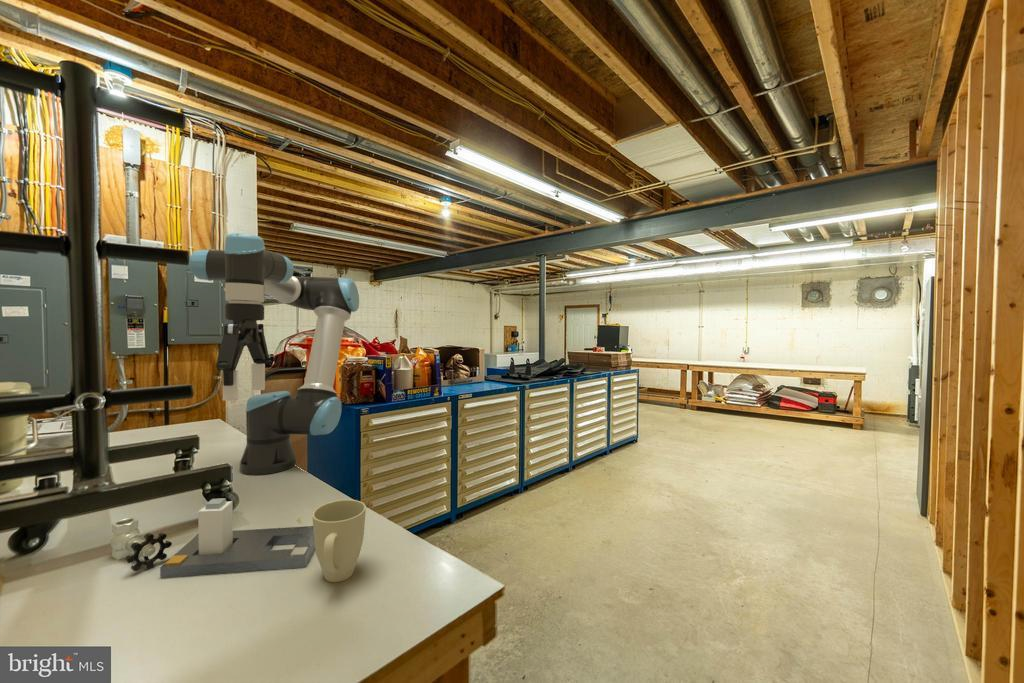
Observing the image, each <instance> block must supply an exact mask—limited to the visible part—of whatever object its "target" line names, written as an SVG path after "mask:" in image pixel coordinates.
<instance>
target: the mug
mask: <svg viewBox="0 0 1024 683" xmlns="http://www.w3.org/2000/svg"><path fill="white" fill-rule="evenodd" d="M366 511H367V507H366V503H364V502H362V501H360V500H357V499H339V500H333V501H331V502H326V503H324V504H322V505H320V506H318V507H317V508H316V509H315V510H314V511H313V512H312V526H313V530H314V543H315V550H314V551H315V554H316V557H317V560H318V563H319V565H320V568H321V571H322V573H323V576H324V578H325V579H324V580H326V581H327V582H329V583H339V582H343V581H345V580H347V579H349V578H351V576H353V574H354V572H355V568H356V565H357V562H358V559H359V557H360V553H361V551H362V546H363V542H364V535H365V523H366V522H365V521H366Z"/></svg>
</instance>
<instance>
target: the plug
mask: <svg viewBox="0 0 1024 683" xmlns="http://www.w3.org/2000/svg"><path fill="white" fill-rule="evenodd" d="M233 503H234V502H233V501H232V500H231V501H229V500H228V501H227V498H225V497H224V498H220V497H219V498H211V499H210V500H209V501H207V502H206V503H205V504H204V505H205V506H204V507H202V508H201V509H199V510H198V514H197V515H198V516H197V517H198V521H197V522H198V523H197V524H198V534H199V555H209V554H224V553H225V552H226V551H227V550H228V549H229V548H230V547H231V546H232V545H233V531H234V528H233V527H234V526H233V521H234V520H233V517H234V516H233V514H234V513H233V511H234V508H233V506H234V505H233Z"/></svg>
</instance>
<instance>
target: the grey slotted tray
mask: <svg viewBox="0 0 1024 683" xmlns="http://www.w3.org/2000/svg"><path fill="white" fill-rule="evenodd" d="M281 545H282V546H283V545H294V546H293V548H287V549H285V548H284V549H272V548H273V546H281ZM271 549H272V550H271ZM315 551H316V550H315V543H314V530H313V525H309V526H307V525H306V526H292V527H290V526H289V527H275V528H258V529H257V528H256V529H255V528H253V529H241V530H233V545H232V546H231V547H230V548H229V549H228V550H227V551H226V552H225V553H224V554H209V555H199V533H198V534H196V535H194V537H193V538H192V539H191V540H190V541H188V542H187V543H186V544H185V545H184V546H182V547H181V549H179V550H178V551H177V552H176V553H175V554H174V555H172V556H171V557H170V558H168V560H167V561H165V562H164V563H163V564H162V565H161V566H160V567H159V570H160V571H159V572H160V573H159V575H160V576H159V577H160V579H166V578H168V579H169V578H181V577H194V576H209V575H220V574H223V575H224V574H232V573H235V574H237V573H246V572H247V573H249V572H261V571H273V570H286V569H287V570H288V569H299V568H300V569H301V568H306V567H307V565H308V563H309V561H310V560H311V558H312V556H313V554H314V553H315Z"/></svg>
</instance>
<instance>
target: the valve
mask: <svg viewBox="0 0 1024 683" xmlns="http://www.w3.org/2000/svg"><path fill="white" fill-rule="evenodd" d="M111 533H112V535H111V537H110V546H111V548H112V549H111V554H112V556H111V558H113V559H115V560H122V559H124V561H125V563H128V564H131V563H133V562H134V563H135V564H133V565H132V564H131V566H130V569H131V570H132V571H133V572H137V571H139V570H140V569H141V568H142V566H144V569H146V570H148V571H149V570H152V569H154V567H155V562H156V561H157V560H160V561H164V560H165V559H166V558H167V557H168V555H167V553H165V552H164V550H165V549H168V548H170V547H172V544H173V543H172V541H170V540H165V539H166V538H167V533H164V532H160V533H158V535H157V537H155V535H154V534H153V533H151V532H148V533H146V534H145V535H144V536H143V535H142V534H141V531H140V529H139V519H138V518H137V517H135V516H134V517H133V516H132V517H126V518H122V519H118V520H116V521H114V522H113V523H112V524H111ZM164 540H165V542H164ZM156 544H158V545H159V549H158V552H157V553H156V554H155V552H156V547H155V545H156ZM153 554H155V555H154V556H153V557H151V556H152V555H153ZM139 555H140V556H142V557H143V560H141V559H140V557H139ZM149 557H151V558H149Z"/></svg>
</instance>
